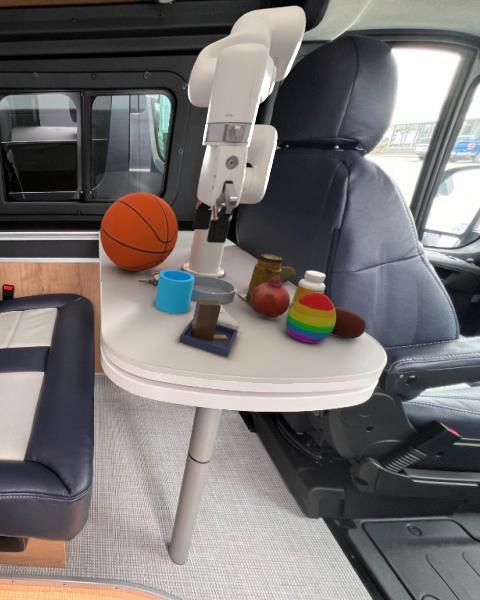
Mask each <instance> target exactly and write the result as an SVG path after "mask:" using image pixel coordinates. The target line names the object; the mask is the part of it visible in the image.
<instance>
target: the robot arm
mask: <svg viewBox="0 0 480 600" xmlns="http://www.w3.org/2000/svg"><path fill="white" fill-rule="evenodd" d="M306 24H307V17H306V12H305V11H304V9H303V8H302V7H301V6H298V5H290V6H282V7H271V8H262V9H254V10H251V11H249V12H246V13H244V14H243V15H242V16H240V17H239V18H238V19H237V21H236V22H235V23H234V25H233V26H232V28H231V31H230V33H229V35H227V36H225V37H224V38H221V39H218V40H217V41H215V42H214V41H213V42H212V43H210V44H208V45H207V46H205V47H204V48H203V49H202V50H201V51H200V52H199V54H198V56H197V58H196V60H195V62H194V64H193V66H192V68H191V72H190V75H189V80H188V85H187V96H188V99H189V102H190V103H191V104H192V106H194V107H196V108H197V107H198V108H208V110H207V116H206V122H205V127H204V133H203V140H202V146H206V149H205V153H204V156H203V160H202V164H201V165H202V166H201V170H200V175H199V180H198V185H197V193H196V197H197V198H196V199H197V202H196V204H195V209H194V210H195V211H194V215H193V222H192V229H193V230H194V232H193V237H192V242H191V248H190V253H189V258H188V262H187V263H184V264H183V265H182V271H184V272H188V273H190V274H192V275H193V276H210V277H215V278H222V277H223V276H224V274H225V270H224V269H223V268H222V267H221V263H222V259H223V256H224V250H225V247H226V241H227V236H228V232H229V228H230V224H231V221H232V219H233V214H234V213H235V208H237V207H238V206H239V205H240V204H245V205H255V204H258V203H260V202H262V200H263V198H264V196H265V194H266V190H267V186H268V183H269V179H270V173H271V169H272V165H273V160H274V157H275V152H276V147H277V143H278V142H277V140H278V131H277V129H276V128H275V126H273V125H270V124H255V123H256V118H257V115H258V110H259V105H261V103H263V102H264V101H266V99H267V98H268V97H269V96H270V95H271V93H272V92H273V90H274V86H275V83H278V82H281V81H282V80H284V79H285V78H286V77H287V76H288V74H289V72H290V71H291V69H292V66H293V64H294V61H295V60H296V57H297V55H298V52H299V50H300V47H301V45H302V42H303V38H304V35H305V32H306ZM247 164H250V165H251V167H247Z"/></svg>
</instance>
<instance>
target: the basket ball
mask: <svg viewBox="0 0 480 600" xmlns="http://www.w3.org/2000/svg"><path fill="white" fill-rule="evenodd" d="M178 237H179V225H178V219H177V217H176V214H175V212H174V211H173V209H172V208H171V205H169V203H168V202H166V201H165V200H164V199H163V198H161V197H159V196H157V195H155V194H153V193H147V192H140V191H139V192H132V193H129V194H126V195H123V196H122V197H119V198H118V199H116V200H115V201H114V202H113V203H112V204H111V205H110V206H109V208H107V210H106V211H105V213H104V215H103V218H102V220H101V224H100V229H99V238H100V239H99V240H100V243H101V247H102V250H103V251H104V253H105V255H106V256H107V258H108V259H109V260H110V261H111V262H112V263H113V264H114V265H116V266H117V267H120V268H122V269H124V270H127V271H130V272H131V271H132V272H143V271H148V270H152V269H154V268H156V267H158V266H160V265H161V264H162V263H164V262H165V261H166V260H167V259H168V258H169V257H170V255H171V254H172V252H173V251H174V249H175V247H176V244H177V241H178Z"/></svg>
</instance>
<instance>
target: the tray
mask: <svg viewBox="0 0 480 600" xmlns="http://www.w3.org/2000/svg"><path fill="white" fill-rule="evenodd" d="M192 322H193V318H192V319H191V321H190V322H189V324H187V326H186V327H185V329H184V330H183V331H182V332H181V334H180V336H179V341H178V342H179V343H181V344H184V345H187V346H190V347H193V348H196V349H198V350H202V351H206V352H209V353H212V354H215V355H218V356H220V357H224V358H229V357H228V356H229V354H230V352H231V349H232V347H233V345H234V343H235V341H236V338H237V335H238V333H239V332H238V331H239V329H238V330H236V329H232V328H228V327H225V326H221V325H218V324H217V325H216V329H215V333H214V335H226V337H227V340H216V339H213V341H207V340H199V339H195V338H192V337H191V334H190V332H191V327H192Z"/></svg>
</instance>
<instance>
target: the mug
mask: <svg viewBox="0 0 480 600" xmlns="http://www.w3.org/2000/svg"><path fill="white" fill-rule="evenodd" d="M160 271H161V272H160V274H159V281H158V286H157V287H156V288H157V289H156V290H157V291H156V296H155V303H154V304H155V307H156V308H157V309H158V310H160V311H162V312H165V313H168V314H175V315H177V314H184V313H186V312H188V311H189V310H190V305H191V300H192V299H191V294H192V289H193V284H194V279H195V278H194V276H193V275H192V274H190V273H188V272H185V271H184V270H180V269H165V270H160Z"/></svg>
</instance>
